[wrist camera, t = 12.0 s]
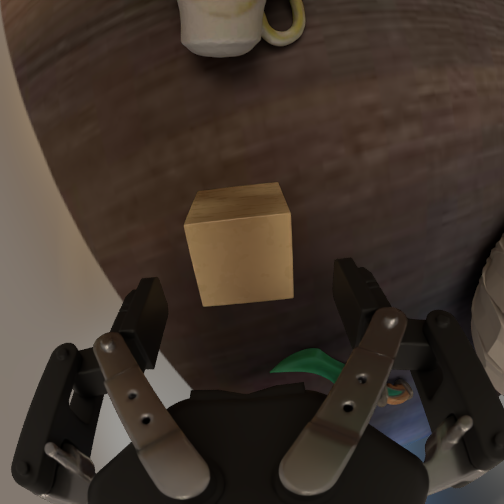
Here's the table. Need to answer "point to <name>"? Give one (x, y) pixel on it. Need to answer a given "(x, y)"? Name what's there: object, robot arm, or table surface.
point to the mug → (233, 26)
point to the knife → (338, 373)
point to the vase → (490, 317)
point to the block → (241, 244)
